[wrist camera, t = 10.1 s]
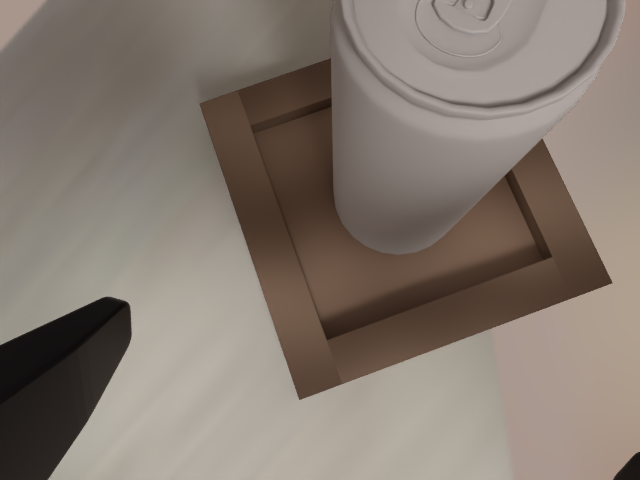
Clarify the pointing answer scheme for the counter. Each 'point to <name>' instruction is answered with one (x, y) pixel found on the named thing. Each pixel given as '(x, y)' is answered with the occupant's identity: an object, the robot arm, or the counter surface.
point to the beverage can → (449, 102)
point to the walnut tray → (373, 266)
